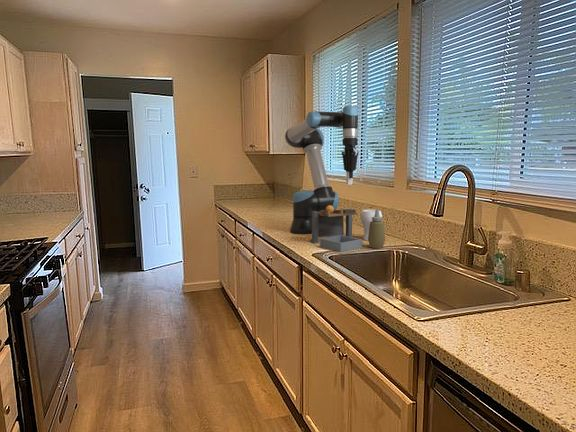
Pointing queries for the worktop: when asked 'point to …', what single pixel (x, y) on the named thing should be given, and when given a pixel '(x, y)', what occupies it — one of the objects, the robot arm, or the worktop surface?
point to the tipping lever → (332, 222)
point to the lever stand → (315, 227)
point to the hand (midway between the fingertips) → (349, 184)
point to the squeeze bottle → (376, 231)
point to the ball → (330, 208)
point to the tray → (340, 243)
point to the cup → (367, 220)
